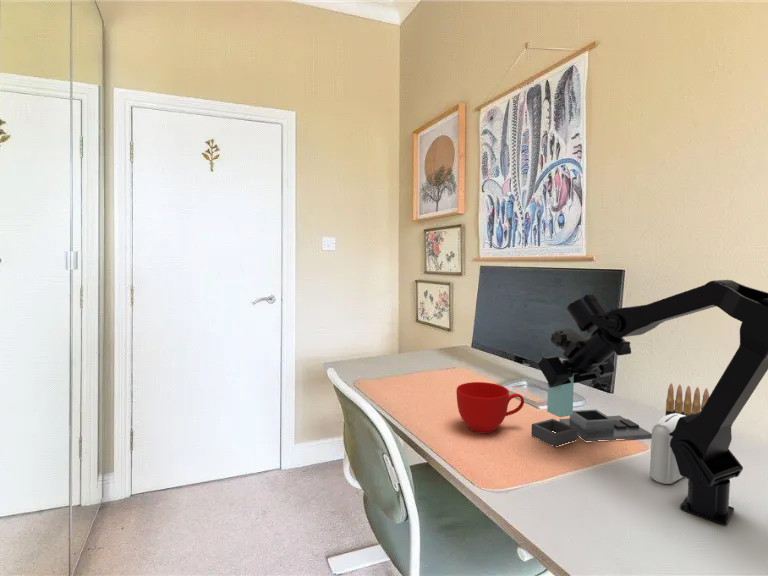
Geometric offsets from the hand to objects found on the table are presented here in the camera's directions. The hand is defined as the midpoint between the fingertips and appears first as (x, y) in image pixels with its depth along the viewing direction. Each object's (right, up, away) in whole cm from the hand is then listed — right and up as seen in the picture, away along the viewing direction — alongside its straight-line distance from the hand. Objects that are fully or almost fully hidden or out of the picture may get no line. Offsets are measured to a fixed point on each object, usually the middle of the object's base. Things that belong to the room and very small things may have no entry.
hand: (556, 384), depth 106 cm
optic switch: (+13, -12, +4) cm, 18 cm away
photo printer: (+16, -14, -18) cm, 28 cm away
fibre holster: (-1, -13, -1) cm, 13 cm away
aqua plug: (+1, -7, -1) cm, 7 cm away
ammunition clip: (+33, -12, +1) cm, 35 cm away
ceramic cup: (-15, -12, +5) cm, 20 cm away
